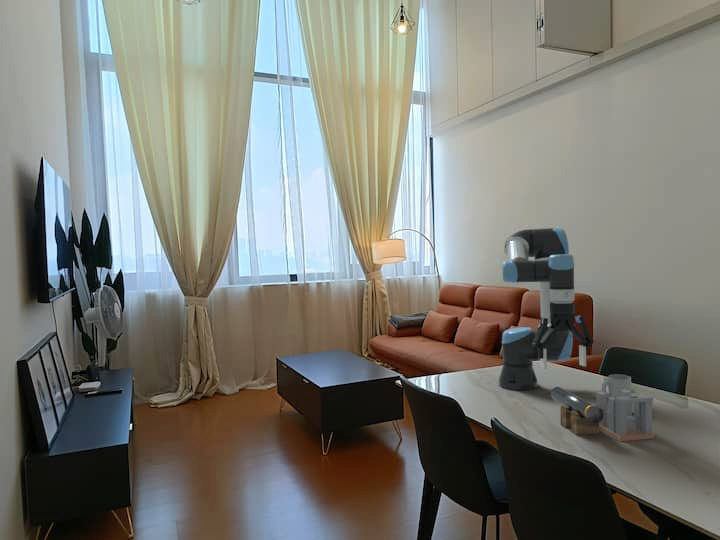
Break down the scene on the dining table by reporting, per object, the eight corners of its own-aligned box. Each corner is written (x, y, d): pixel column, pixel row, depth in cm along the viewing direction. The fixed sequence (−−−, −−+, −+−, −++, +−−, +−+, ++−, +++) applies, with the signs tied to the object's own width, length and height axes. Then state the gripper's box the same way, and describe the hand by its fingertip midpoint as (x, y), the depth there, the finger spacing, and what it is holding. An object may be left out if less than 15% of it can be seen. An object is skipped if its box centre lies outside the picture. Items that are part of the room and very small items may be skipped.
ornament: (646, 416, 164) (646, 385, 163) (622, 416, 165) (622, 386, 164) (638, 410, 170) (637, 380, 169) (615, 410, 171) (614, 381, 170)
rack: (560, 424, 159) (560, 404, 158) (582, 422, 160) (582, 403, 159) (576, 435, 150) (576, 414, 150) (599, 433, 151) (599, 412, 150)
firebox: (582, 419, 163) (581, 382, 162) (613, 416, 164) (613, 380, 164) (619, 441, 144) (619, 400, 144) (654, 438, 145) (654, 397, 145)
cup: (635, 404, 175) (634, 379, 175) (605, 404, 176) (605, 379, 176) (626, 398, 183) (625, 374, 182) (597, 398, 184) (597, 374, 183)
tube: (550, 400, 167) (550, 387, 167) (563, 399, 168) (563, 386, 168) (589, 423, 145) (588, 407, 145) (604, 422, 146) (603, 406, 146)
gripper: (531, 304, 157) (532, 372, 157) (604, 301, 160) (605, 367, 161) (520, 302, 164) (521, 366, 165) (591, 299, 167) (592, 362, 168)
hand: (563, 367), depth 163 cm, fingers open, 13 cm apart
